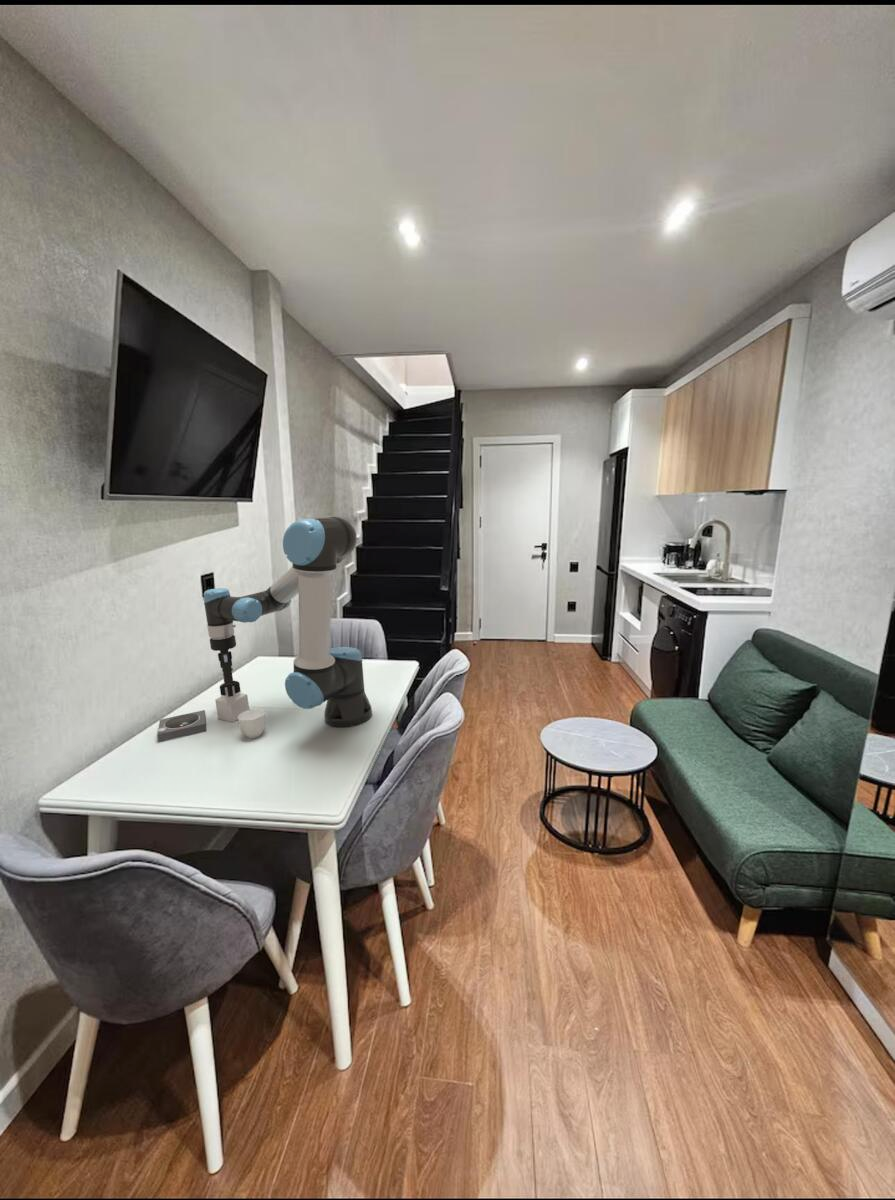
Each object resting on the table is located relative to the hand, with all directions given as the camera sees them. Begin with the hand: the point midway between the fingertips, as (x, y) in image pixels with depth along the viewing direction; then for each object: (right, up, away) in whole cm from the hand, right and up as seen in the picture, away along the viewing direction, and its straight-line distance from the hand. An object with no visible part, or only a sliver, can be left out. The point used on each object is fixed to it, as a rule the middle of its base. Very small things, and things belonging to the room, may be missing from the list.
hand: (230, 697), depth 157 cm
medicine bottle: (+1, -7, +1) cm, 7 cm away
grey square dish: (-12, -9, -6) cm, 16 cm away
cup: (+13, -9, -11) cm, 19 cm away
